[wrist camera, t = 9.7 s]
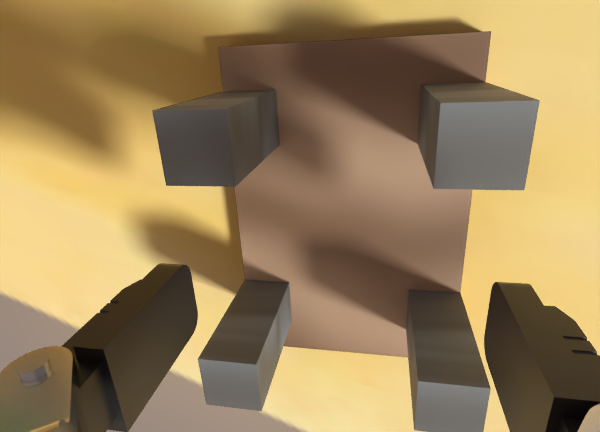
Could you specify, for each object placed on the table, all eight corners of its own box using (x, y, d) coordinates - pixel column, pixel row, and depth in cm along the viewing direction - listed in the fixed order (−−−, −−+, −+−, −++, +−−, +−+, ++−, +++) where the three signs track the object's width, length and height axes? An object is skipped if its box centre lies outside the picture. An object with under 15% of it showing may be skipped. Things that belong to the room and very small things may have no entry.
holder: (227, 47, 15) (140, 47, 10) (483, 32, 13) (552, 21, 8) (258, 329, 20) (212, 435, 15) (448, 345, 18) (476, 472, 13)
